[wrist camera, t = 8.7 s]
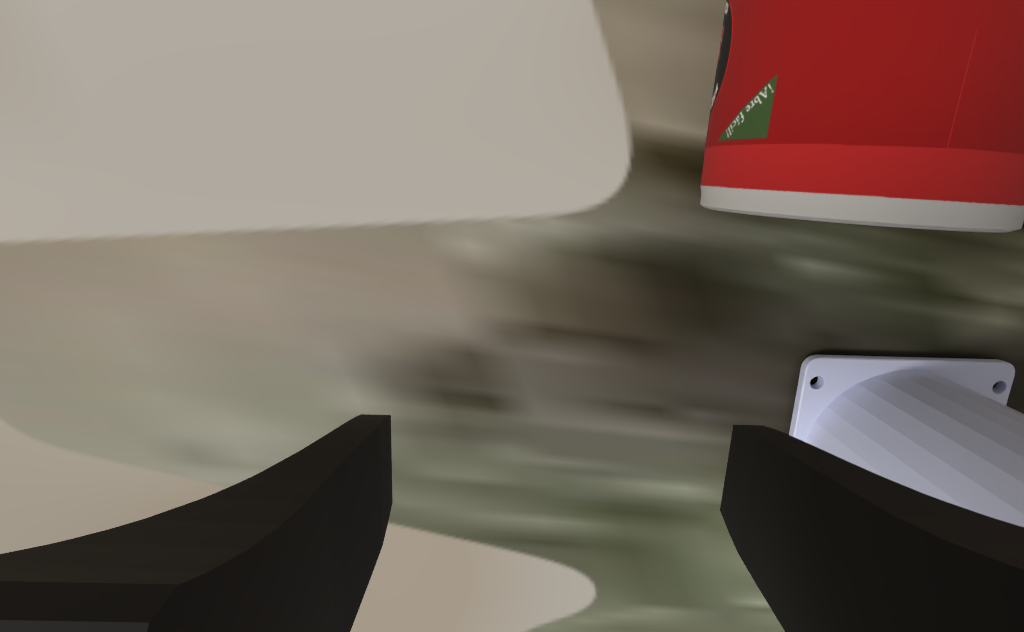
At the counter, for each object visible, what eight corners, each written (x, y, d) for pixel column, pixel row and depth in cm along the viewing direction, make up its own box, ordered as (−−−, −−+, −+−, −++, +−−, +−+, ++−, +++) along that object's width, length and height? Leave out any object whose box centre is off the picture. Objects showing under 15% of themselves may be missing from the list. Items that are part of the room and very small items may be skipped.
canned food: (769, -353, 11) (690, 212, 14) (1352, -493, 8) (1105, 243, 11) (751, -140, 18) (701, 203, 20) (1061, -179, 15) (956, 221, 18)
